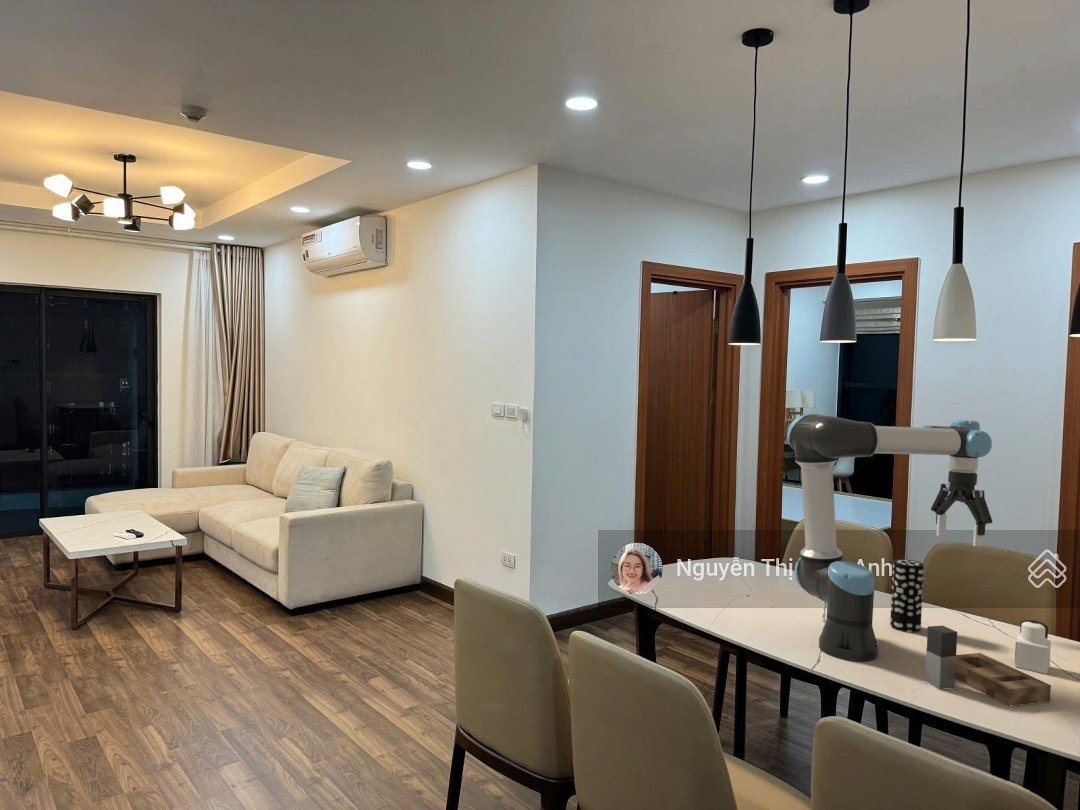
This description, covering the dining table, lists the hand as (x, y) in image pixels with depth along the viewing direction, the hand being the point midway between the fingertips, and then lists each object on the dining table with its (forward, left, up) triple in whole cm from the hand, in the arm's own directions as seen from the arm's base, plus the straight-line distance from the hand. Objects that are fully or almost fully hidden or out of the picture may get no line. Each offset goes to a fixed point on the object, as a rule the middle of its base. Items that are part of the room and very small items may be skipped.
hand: (958, 540), depth 219 cm
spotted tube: (-15, +3, -27) cm, 31 cm away
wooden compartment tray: (-24, -37, -27) cm, 52 cm away
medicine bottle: (-3, -29, -27) cm, 40 cm away
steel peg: (-37, -34, -27) cm, 57 cm away
